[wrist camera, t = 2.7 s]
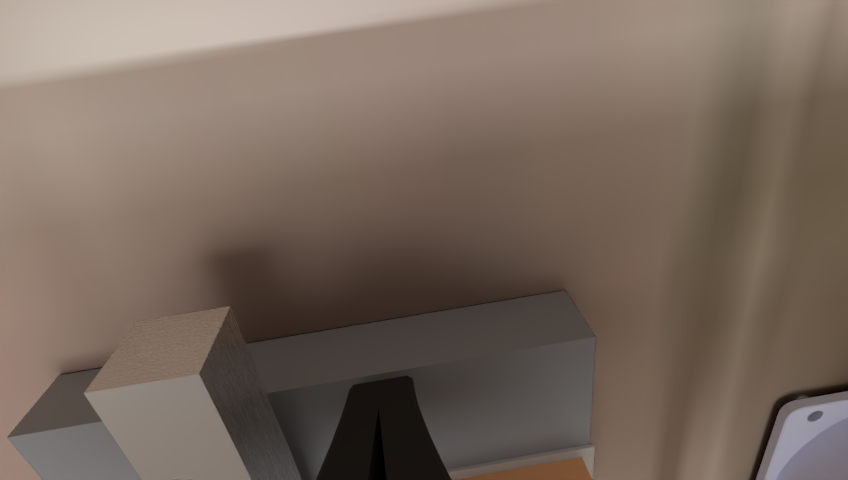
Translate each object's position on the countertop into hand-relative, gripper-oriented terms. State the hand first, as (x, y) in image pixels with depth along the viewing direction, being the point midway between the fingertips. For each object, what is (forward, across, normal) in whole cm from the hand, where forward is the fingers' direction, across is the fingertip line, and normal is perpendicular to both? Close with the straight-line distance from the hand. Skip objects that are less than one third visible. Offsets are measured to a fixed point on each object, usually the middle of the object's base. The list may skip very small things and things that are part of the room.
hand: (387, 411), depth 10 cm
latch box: (+3, +2, +5) cm, 6 cm away
